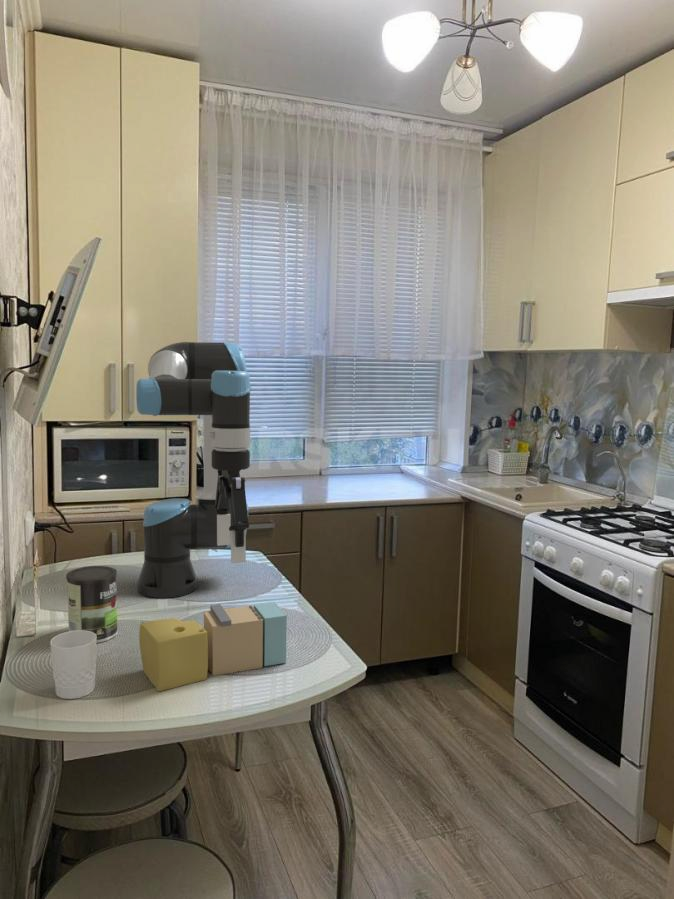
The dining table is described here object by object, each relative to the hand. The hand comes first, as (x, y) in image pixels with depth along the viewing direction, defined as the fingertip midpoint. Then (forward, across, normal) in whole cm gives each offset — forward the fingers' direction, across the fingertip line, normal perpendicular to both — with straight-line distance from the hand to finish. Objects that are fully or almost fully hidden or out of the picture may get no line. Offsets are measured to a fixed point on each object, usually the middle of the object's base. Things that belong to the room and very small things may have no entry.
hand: (230, 553), depth 137 cm
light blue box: (+22, +2, +8) cm, 23 cm away
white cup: (+22, +4, -30) cm, 38 cm away
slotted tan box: (+22, +3, 0) cm, 22 cm away
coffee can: (+22, -20, -26) cm, 40 cm away
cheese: (+22, +4, -12) cm, 26 cm away
